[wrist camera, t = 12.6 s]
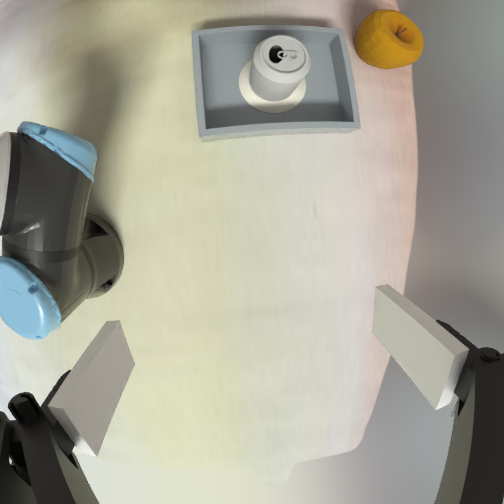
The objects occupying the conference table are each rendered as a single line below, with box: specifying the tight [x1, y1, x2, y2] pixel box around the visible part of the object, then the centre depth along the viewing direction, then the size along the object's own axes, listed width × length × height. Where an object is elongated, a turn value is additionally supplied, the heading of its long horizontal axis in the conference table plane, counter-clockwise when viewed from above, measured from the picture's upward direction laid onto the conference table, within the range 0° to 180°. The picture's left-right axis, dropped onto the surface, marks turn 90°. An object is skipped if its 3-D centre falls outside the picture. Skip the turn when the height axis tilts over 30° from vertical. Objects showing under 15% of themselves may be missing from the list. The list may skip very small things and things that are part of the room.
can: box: [249, 35, 311, 102], centre depth 34 cm, size 8×8×12 cm
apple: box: [355, 9, 424, 69], centre depth 34 cm, size 11×11×13 cm
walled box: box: [192, 25, 361, 142], centre depth 38 cm, size 24×18×6 cm
